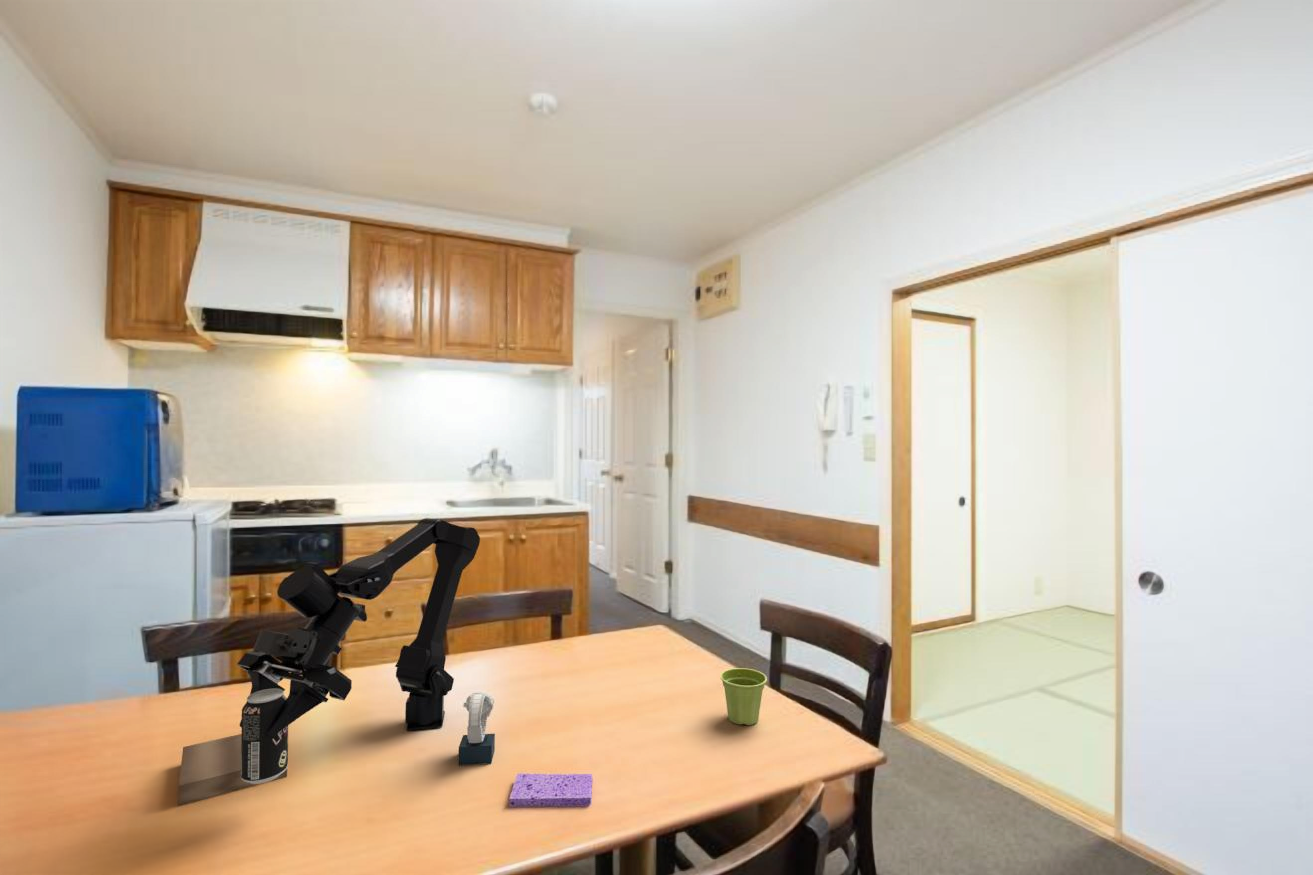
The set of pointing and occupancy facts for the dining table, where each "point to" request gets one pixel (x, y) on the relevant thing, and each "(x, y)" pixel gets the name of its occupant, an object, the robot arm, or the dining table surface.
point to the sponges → (551, 790)
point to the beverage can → (262, 738)
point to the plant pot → (743, 694)
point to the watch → (477, 731)
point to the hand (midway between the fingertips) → (255, 731)
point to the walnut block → (212, 769)
